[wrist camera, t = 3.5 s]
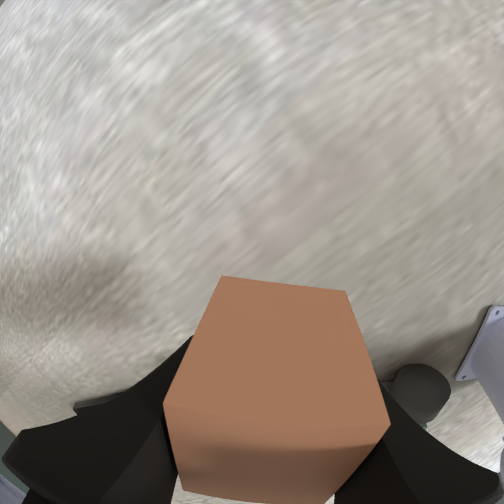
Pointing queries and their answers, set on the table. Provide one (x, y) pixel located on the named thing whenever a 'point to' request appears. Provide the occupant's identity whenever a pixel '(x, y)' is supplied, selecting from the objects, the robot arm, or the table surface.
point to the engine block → (274, 396)
